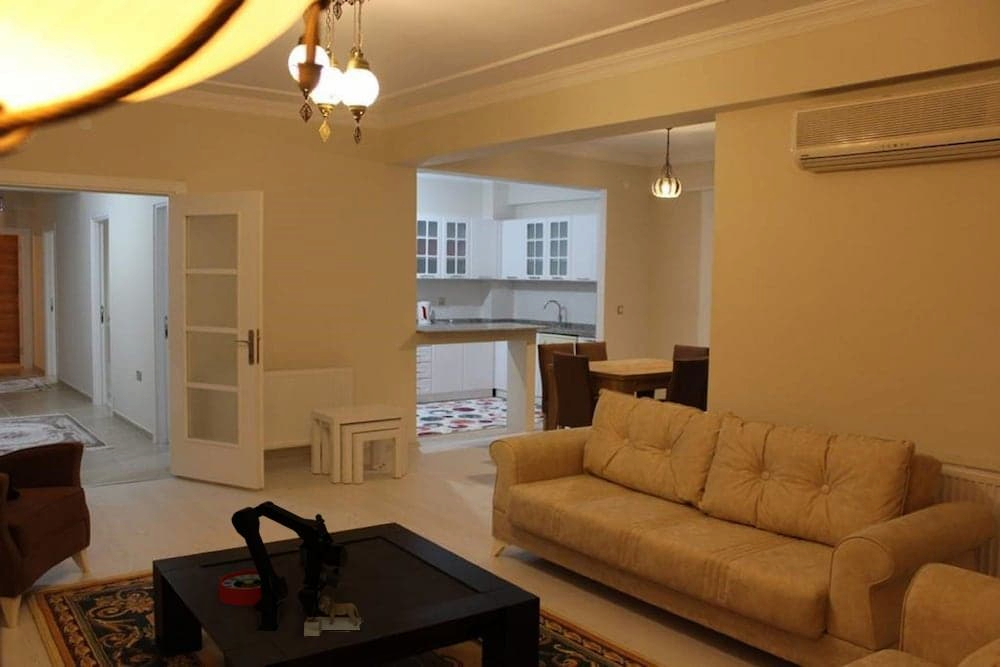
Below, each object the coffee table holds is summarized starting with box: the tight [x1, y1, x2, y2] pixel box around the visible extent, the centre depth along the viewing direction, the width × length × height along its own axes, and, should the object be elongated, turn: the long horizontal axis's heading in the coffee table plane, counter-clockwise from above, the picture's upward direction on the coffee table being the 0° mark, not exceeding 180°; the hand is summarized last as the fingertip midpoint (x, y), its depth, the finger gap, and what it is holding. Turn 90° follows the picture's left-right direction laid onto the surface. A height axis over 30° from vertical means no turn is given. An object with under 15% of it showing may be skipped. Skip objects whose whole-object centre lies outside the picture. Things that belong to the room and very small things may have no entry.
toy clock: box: [218, 569, 262, 606], centre depth 303 cm, size 20×6×20 cm
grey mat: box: [320, 616, 362, 630], centre depth 279 cm, size 10×16×1 cm, turn 90°
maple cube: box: [303, 616, 323, 637], centre depth 271 cm, size 4×4×5 cm
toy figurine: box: [298, 513, 326, 563], centre depth 338 cm, size 9×19×25 cm
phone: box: [300, 594, 327, 613], centre depth 296 cm, size 8×1×15 cm
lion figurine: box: [318, 595, 364, 626], centre depth 279 cm, size 15×5×9 cm, turn 94°
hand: (313, 611), depth 271 cm, fingers open, 9 cm apart
